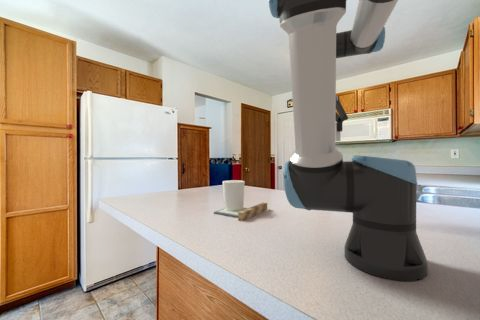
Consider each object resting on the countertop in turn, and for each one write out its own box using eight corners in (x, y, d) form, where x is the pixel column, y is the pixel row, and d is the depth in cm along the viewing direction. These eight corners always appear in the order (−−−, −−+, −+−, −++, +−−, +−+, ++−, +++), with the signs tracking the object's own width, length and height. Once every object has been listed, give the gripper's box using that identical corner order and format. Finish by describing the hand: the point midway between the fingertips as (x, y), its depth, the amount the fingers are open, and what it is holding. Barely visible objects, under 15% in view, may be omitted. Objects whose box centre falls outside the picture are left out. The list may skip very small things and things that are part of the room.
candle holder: (221, 206, 100) (221, 180, 100) (242, 205, 102) (242, 179, 102) (223, 212, 91) (223, 183, 90) (247, 210, 92) (246, 182, 92)
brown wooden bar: (242, 221, 80) (242, 212, 80) (238, 220, 82) (238, 212, 82) (267, 209, 97) (267, 202, 97) (263, 209, 98) (263, 202, 98)
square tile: (239, 218, 84) (239, 216, 84) (213, 213, 91) (213, 211, 91) (256, 211, 95) (256, 209, 95) (232, 207, 102) (232, 205, 102)
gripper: (358, 78, 75) (358, 140, 76) (301, 95, 96) (301, 144, 96) (346, 74, 71) (346, 139, 71) (289, 93, 92) (289, 143, 92)
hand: (320, 142), depth 84 cm, fingers open, 13 cm apart
